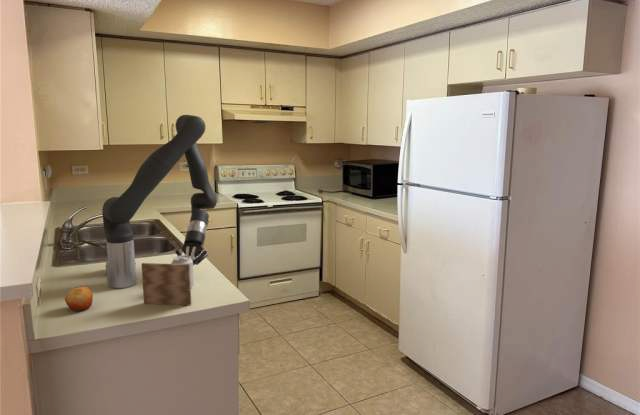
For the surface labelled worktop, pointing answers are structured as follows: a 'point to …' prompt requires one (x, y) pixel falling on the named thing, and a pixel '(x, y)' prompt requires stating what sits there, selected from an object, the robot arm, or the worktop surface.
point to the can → (185, 260)
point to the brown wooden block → (166, 283)
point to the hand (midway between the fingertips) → (187, 273)
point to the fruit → (79, 298)
